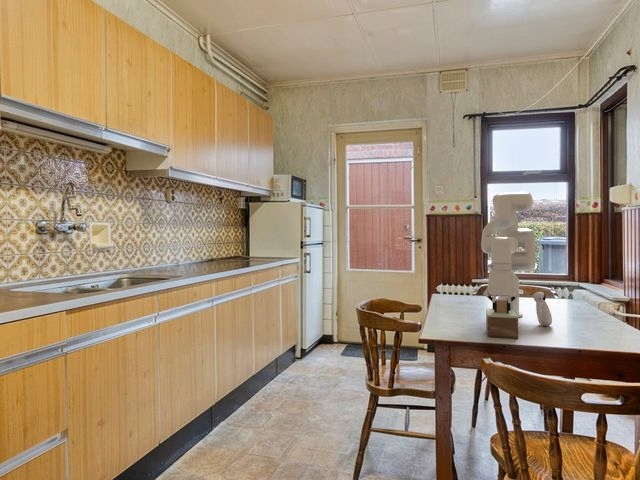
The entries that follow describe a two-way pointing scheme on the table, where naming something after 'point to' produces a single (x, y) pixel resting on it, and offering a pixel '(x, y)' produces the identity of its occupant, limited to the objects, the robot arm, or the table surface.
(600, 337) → the table surface
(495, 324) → the box
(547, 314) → the toy
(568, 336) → the table surface
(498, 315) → the lid
